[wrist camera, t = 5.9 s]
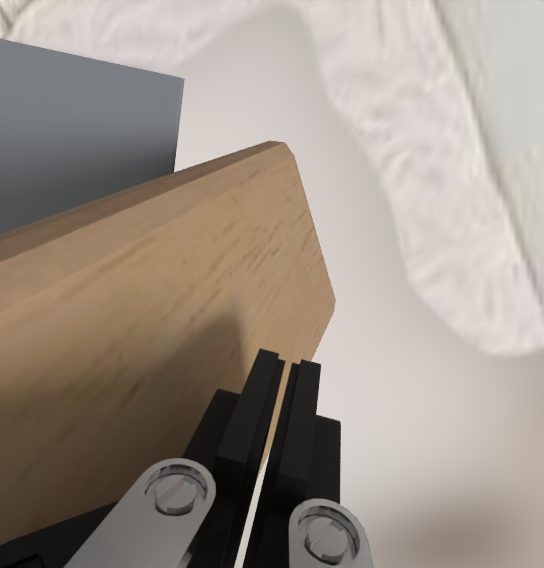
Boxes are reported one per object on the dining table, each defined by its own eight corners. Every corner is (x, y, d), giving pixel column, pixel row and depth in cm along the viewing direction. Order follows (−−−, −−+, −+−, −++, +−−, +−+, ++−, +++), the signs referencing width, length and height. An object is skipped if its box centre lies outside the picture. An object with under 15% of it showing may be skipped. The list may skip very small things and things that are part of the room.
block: (145, 182, 25) (-477, 404, 8) (294, 132, 20) (-404, 397, 4) (203, 323, 28) (-148, 688, 11) (343, 307, 24) (103, 871, 7)
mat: (184, 79, 23) (181, 78, 23) (156, 326, 29) (153, 328, 28) (-127, 12, 25) (-134, 9, 24) (-95, 257, 30) (-101, 259, 30)
